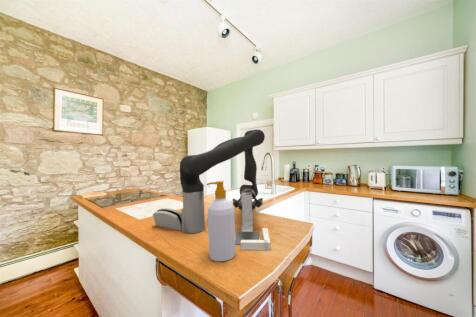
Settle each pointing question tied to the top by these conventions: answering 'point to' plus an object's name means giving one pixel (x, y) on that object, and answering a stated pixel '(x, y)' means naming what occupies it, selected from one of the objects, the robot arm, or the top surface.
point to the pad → (246, 236)
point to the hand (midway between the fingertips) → (246, 207)
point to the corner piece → (257, 242)
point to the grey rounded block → (168, 218)
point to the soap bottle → (221, 226)
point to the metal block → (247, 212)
